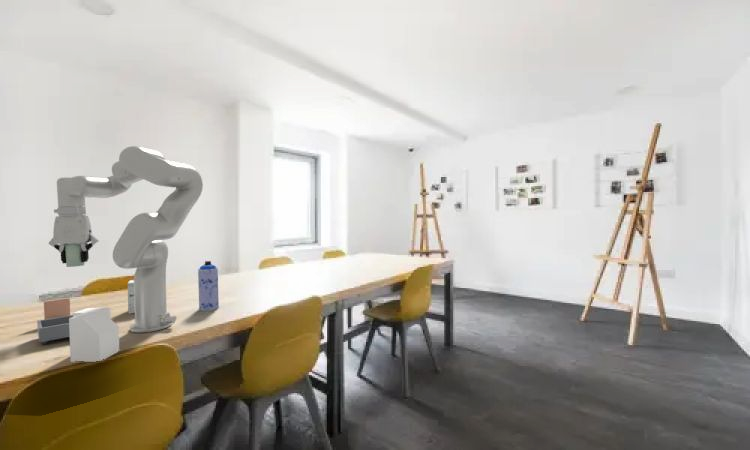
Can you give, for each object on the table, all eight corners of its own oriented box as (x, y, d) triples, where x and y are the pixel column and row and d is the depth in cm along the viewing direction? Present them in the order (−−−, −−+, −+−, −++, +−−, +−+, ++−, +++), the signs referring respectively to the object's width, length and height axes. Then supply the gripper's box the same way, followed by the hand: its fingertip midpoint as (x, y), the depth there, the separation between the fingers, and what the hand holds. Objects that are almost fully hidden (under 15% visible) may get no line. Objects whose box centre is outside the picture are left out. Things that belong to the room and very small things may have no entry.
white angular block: (89, 347, 107) (87, 307, 107) (127, 346, 107) (125, 307, 107) (58, 362, 96) (56, 318, 96) (100, 361, 97) (98, 318, 96)
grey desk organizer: (88, 336, 116) (87, 309, 115) (39, 346, 107) (38, 317, 107) (78, 319, 134) (77, 296, 134) (35, 326, 126) (34, 302, 126)
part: (80, 266, 127) (79, 243, 127) (63, 267, 126) (62, 244, 125) (87, 264, 132) (85, 243, 132) (70, 265, 130) (69, 243, 130)
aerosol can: (219, 305, 155) (218, 259, 154) (219, 309, 148) (218, 261, 147) (199, 307, 152) (197, 260, 151) (198, 311, 145) (196, 263, 144)
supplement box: (127, 314, 142) (126, 283, 141) (130, 309, 148) (129, 279, 148) (149, 311, 145) (148, 281, 145) (151, 307, 152) (150, 278, 151)
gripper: (36, 212, 122) (40, 265, 123) (95, 211, 127) (98, 262, 127) (49, 213, 129) (52, 262, 130) (104, 211, 134) (107, 259, 135)
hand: (75, 261), depth 129 cm, fingers closed on part, 5 cm apart
